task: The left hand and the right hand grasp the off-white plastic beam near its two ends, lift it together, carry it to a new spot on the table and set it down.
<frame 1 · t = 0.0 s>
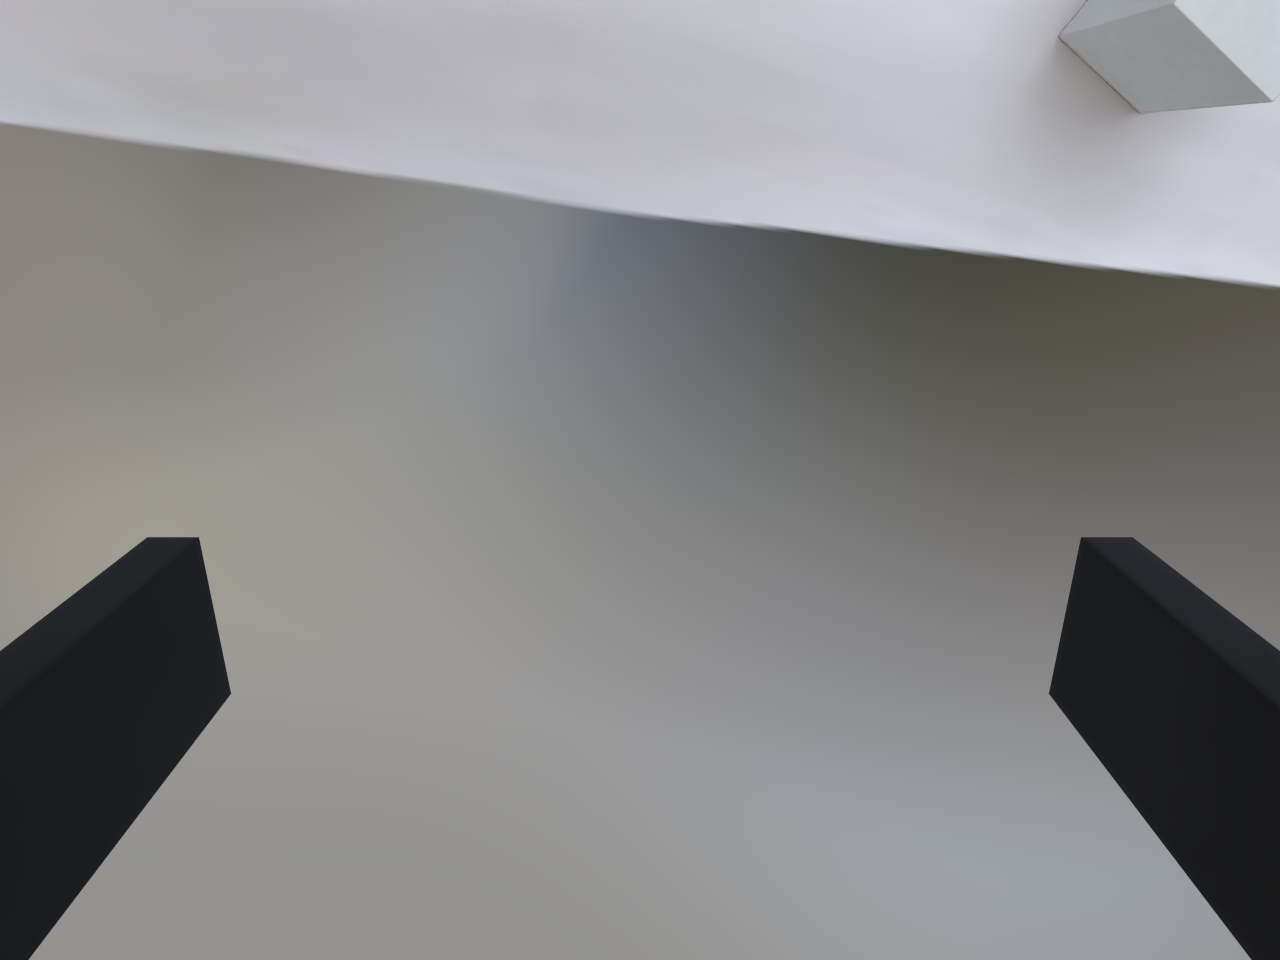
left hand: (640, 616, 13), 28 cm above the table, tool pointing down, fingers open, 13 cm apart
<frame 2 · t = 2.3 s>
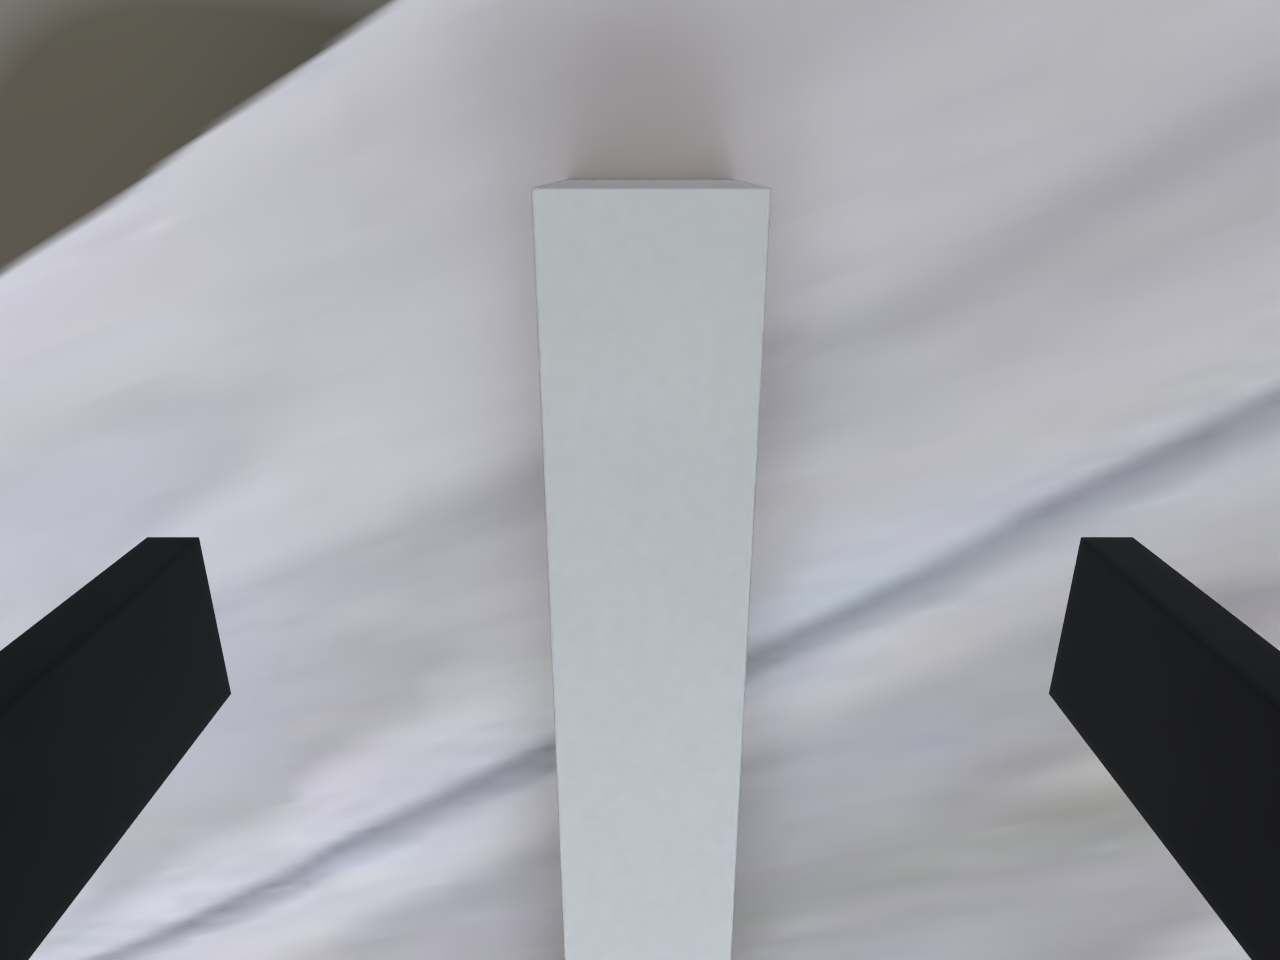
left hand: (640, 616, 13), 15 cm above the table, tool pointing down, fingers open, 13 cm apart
beam: (647, 881, 35), on the table
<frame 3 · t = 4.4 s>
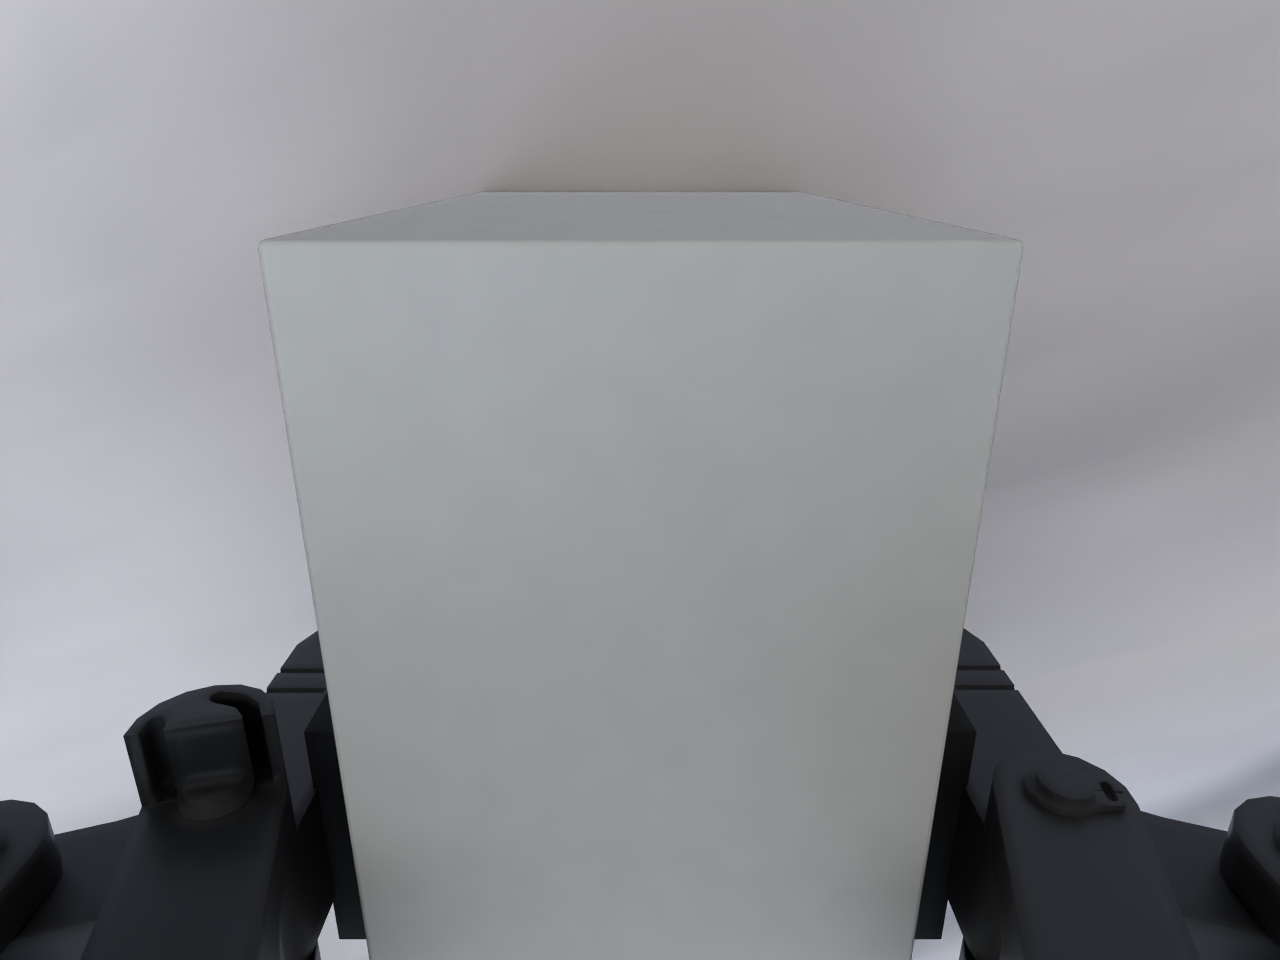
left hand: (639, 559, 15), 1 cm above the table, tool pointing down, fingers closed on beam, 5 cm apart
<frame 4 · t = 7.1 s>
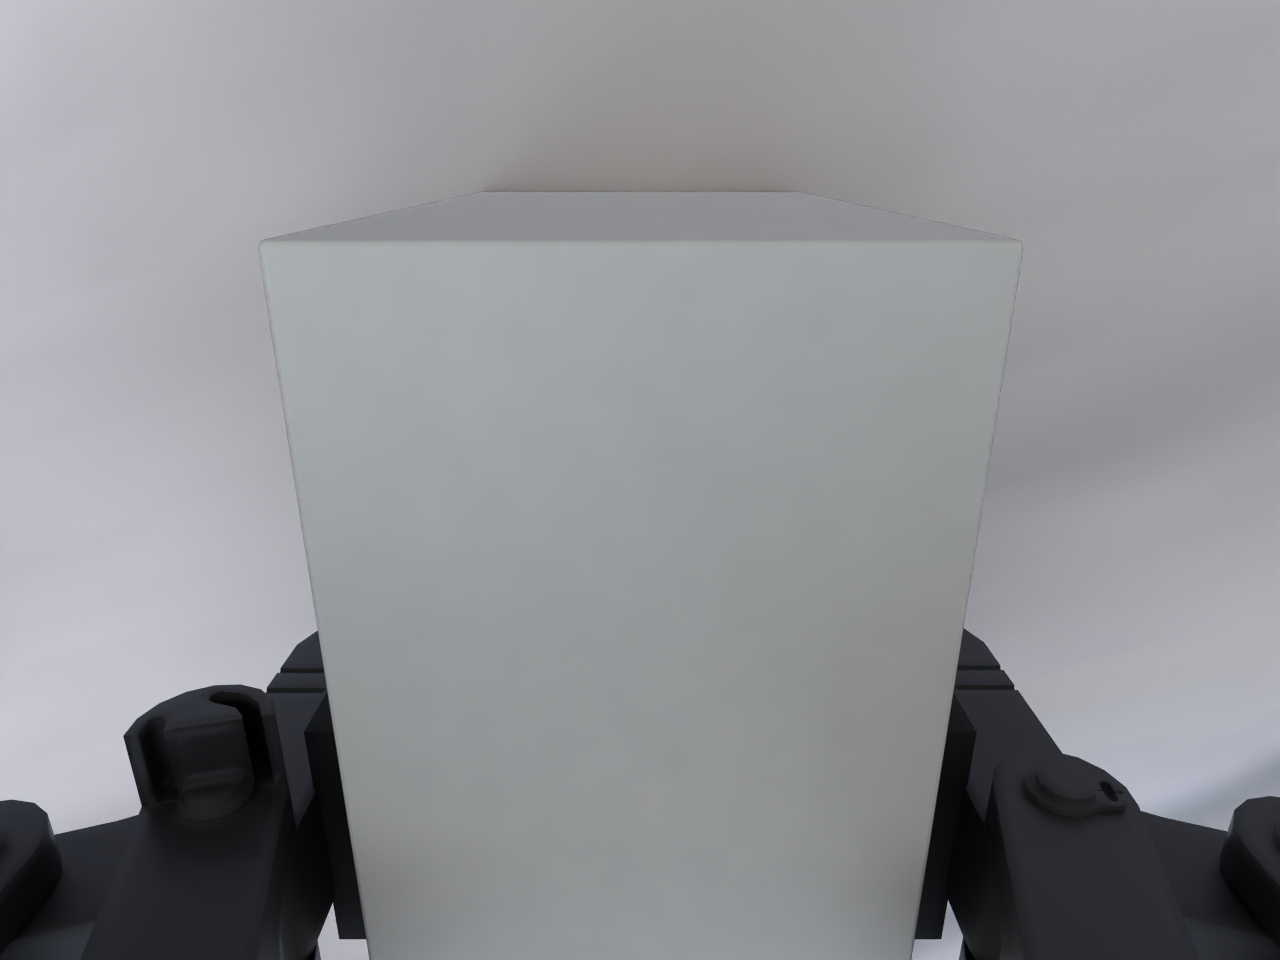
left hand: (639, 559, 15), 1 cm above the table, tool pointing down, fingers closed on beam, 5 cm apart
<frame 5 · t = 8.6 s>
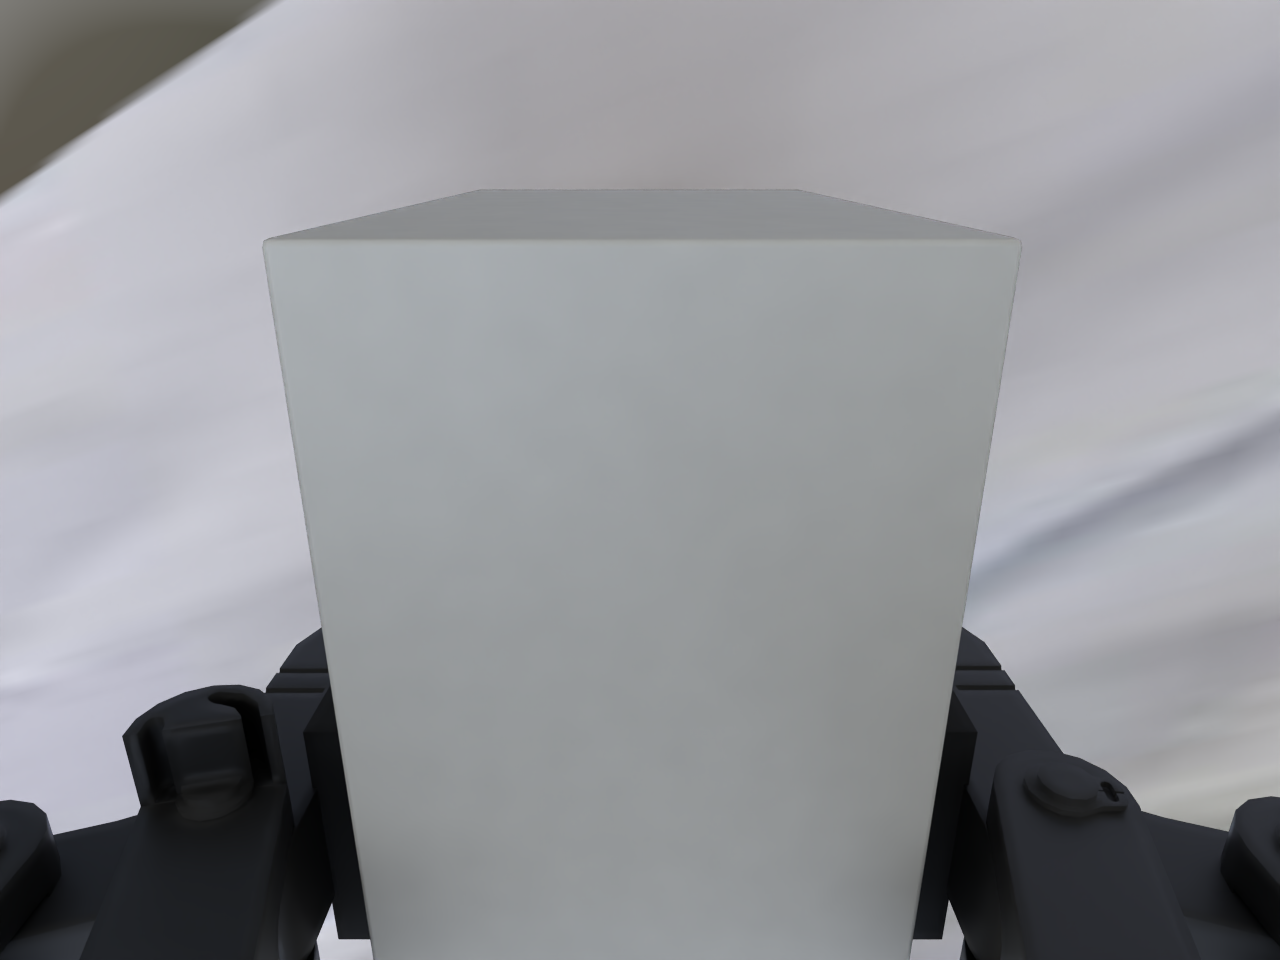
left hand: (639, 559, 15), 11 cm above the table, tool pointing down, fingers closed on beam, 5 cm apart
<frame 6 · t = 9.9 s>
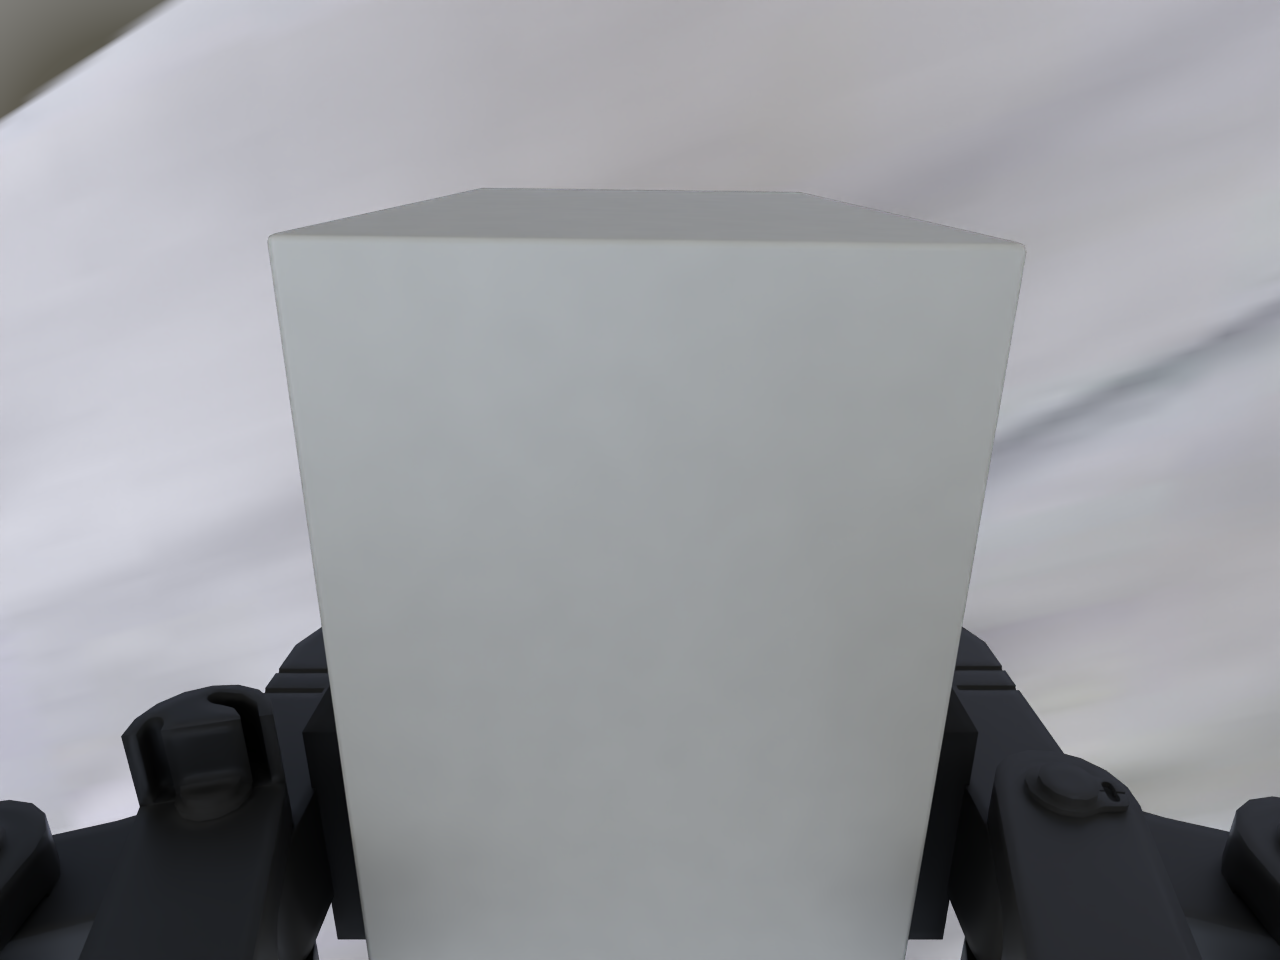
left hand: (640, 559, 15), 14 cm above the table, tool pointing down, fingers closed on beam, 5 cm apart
when the left hand's fingers open (2 cm above the table, at t = 12.6 s): beam drops 2 cm, on the table.
when the right hand's fingers open (5 cm above the table, at t = 12.8 s): beam stays where it is, on the table.
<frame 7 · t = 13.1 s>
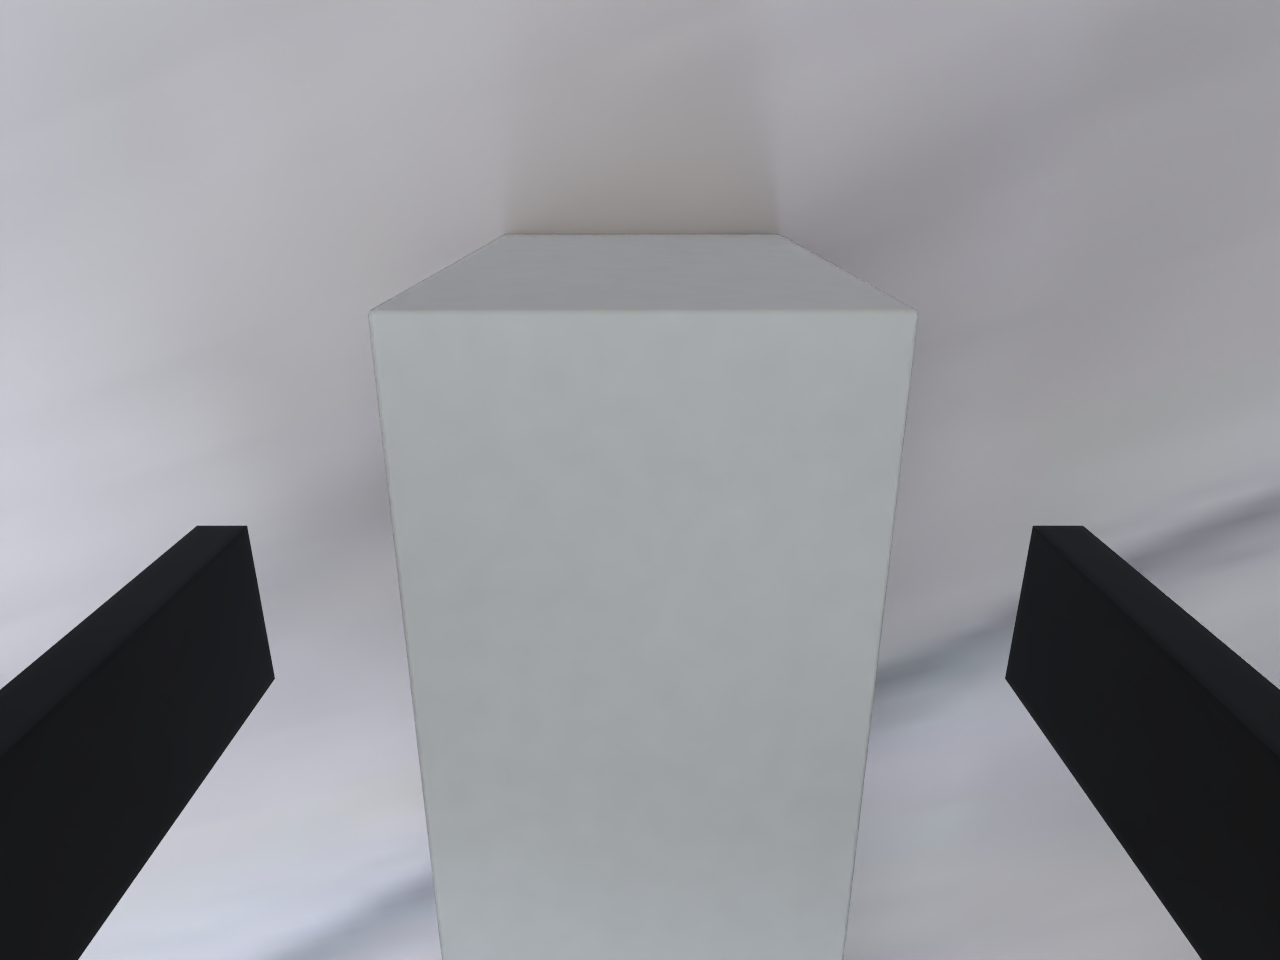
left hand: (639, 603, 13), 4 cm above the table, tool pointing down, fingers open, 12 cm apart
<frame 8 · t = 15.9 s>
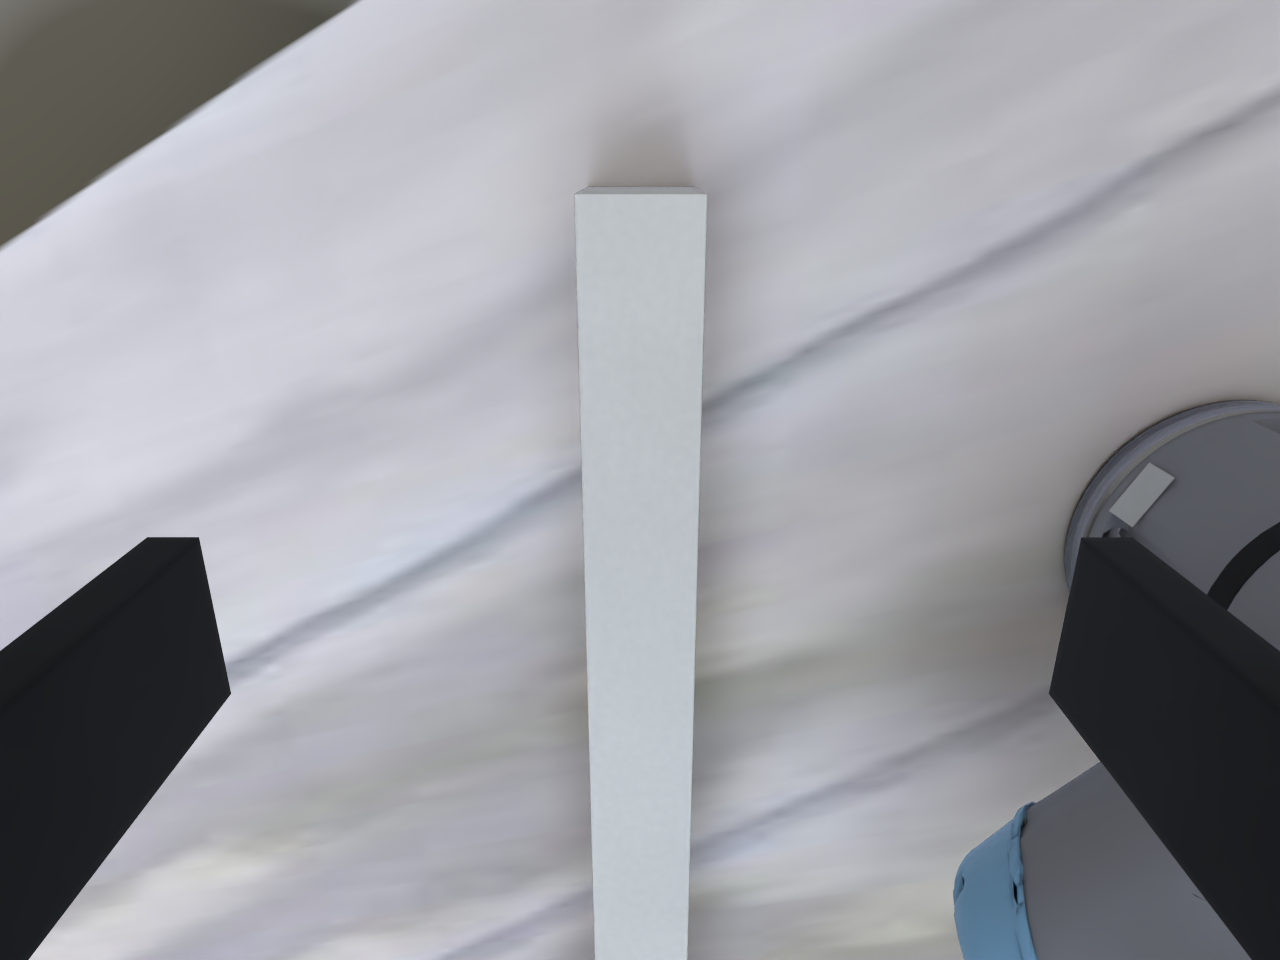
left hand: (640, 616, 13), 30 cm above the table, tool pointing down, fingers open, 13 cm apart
beam: (640, 685, 49), on the table
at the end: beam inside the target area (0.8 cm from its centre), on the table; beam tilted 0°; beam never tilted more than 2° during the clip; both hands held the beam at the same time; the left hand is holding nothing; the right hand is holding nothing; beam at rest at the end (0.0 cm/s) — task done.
